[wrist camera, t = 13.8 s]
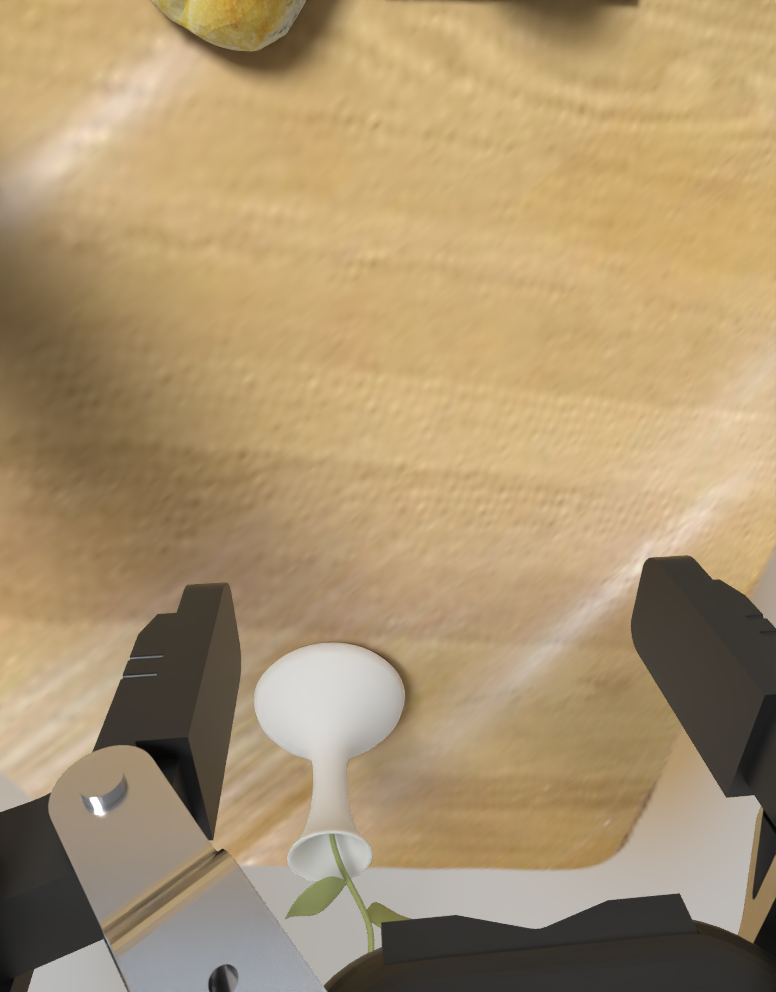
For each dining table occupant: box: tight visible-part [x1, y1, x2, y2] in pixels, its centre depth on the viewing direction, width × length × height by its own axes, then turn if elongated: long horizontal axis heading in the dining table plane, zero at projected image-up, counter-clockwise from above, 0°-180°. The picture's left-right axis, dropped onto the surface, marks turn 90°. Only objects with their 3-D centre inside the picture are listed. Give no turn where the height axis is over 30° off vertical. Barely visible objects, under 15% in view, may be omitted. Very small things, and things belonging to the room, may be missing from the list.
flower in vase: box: [254, 642, 411, 953], centre depth 39 cm, size 13×11×25 cm
